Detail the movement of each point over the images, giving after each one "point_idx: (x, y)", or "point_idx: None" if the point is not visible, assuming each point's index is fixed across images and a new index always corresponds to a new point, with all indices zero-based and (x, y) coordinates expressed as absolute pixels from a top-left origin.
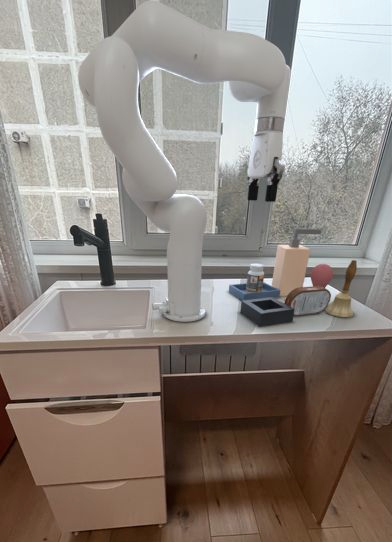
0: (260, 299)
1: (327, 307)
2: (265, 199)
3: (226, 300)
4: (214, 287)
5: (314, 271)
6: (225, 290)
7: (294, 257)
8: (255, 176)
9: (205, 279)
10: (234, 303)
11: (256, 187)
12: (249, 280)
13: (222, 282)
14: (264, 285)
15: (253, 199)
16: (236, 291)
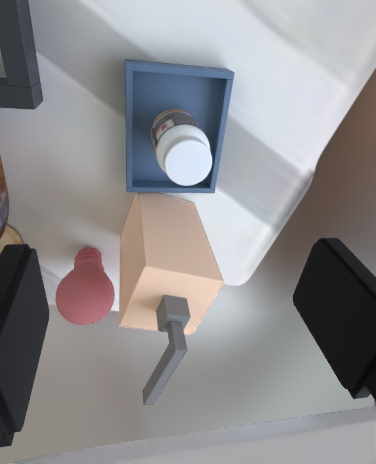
0: (13, 51)
1: (6, 232)
2: (16, 249)
3: (154, 3)
4: (287, 45)
5: (84, 283)
6: (243, 65)
7: (131, 273)
8: (271, 431)
9: (372, 65)
10: (118, 14)
11: (348, 367)
12: (176, 119)
13: (312, 105)
14: (196, 185)
15: (303, 276)
16: (179, 66)
